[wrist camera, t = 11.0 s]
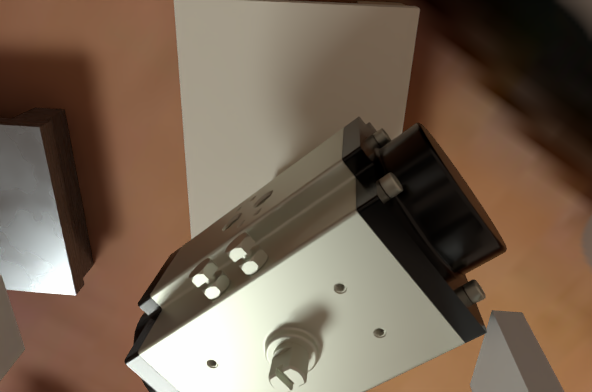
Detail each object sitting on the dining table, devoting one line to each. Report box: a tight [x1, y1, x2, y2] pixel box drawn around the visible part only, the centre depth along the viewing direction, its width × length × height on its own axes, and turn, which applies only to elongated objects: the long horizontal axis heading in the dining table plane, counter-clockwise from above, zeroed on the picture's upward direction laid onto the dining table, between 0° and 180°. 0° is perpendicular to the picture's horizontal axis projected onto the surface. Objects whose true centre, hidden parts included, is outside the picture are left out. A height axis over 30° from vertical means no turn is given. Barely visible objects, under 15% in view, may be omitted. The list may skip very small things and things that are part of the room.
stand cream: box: [174, 0, 420, 239], centre depth 24 cm, size 16×10×3 cm, turn 178°
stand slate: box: [0, 108, 94, 295], centre depth 26 cm, size 10×8×3 cm
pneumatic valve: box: [125, 117, 507, 392], centre depth 17 cm, size 6×12×12 cm, turn 130°
